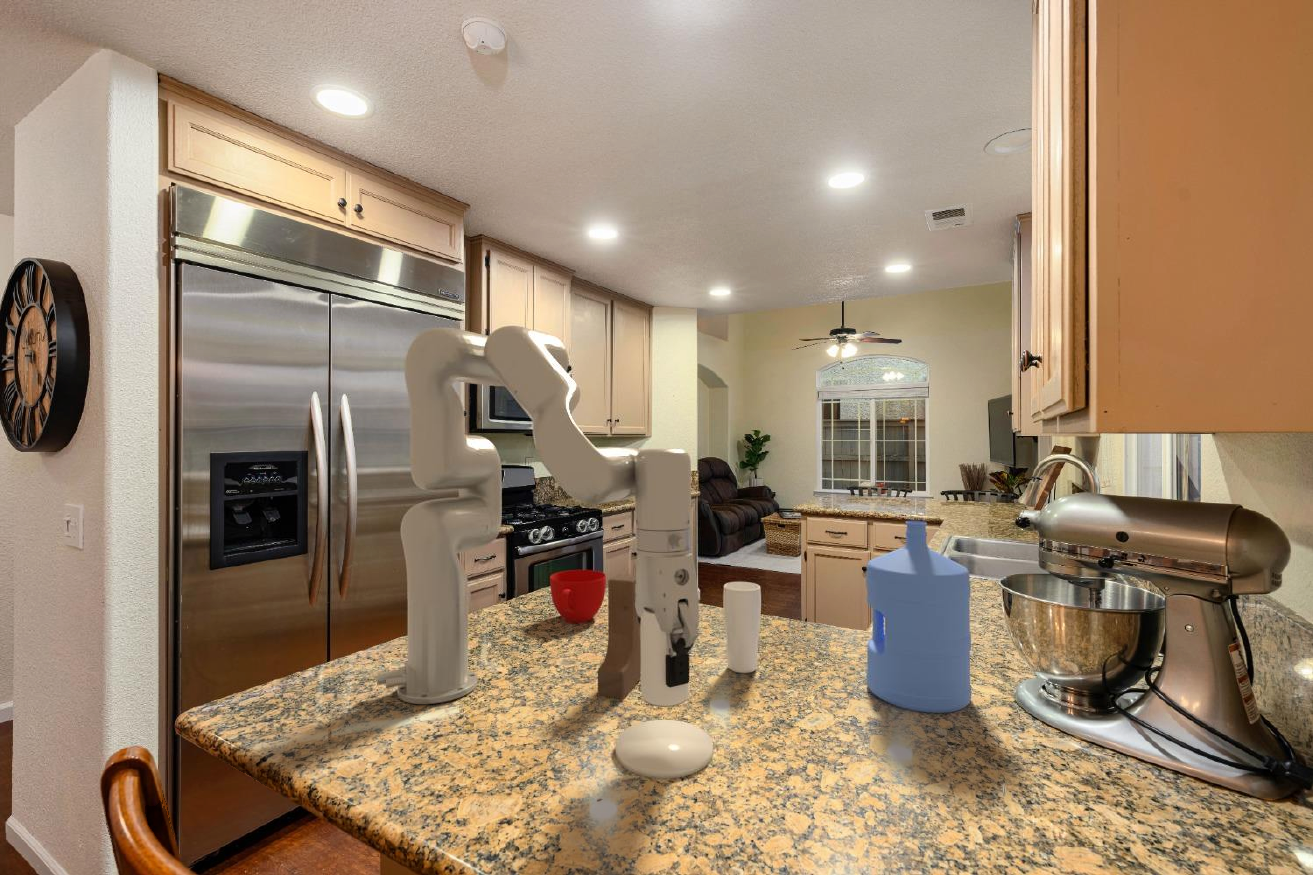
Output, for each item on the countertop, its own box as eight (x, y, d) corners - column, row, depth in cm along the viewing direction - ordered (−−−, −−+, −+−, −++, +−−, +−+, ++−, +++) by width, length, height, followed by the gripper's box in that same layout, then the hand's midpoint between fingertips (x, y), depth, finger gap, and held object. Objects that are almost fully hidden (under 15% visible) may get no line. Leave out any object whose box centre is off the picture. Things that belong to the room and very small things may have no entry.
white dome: (642, 789, 69) (642, 781, 69) (600, 740, 81) (600, 732, 81) (732, 761, 75) (732, 753, 75) (681, 719, 87) (681, 712, 87)
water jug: (983, 691, 96) (982, 521, 96) (953, 726, 85) (952, 532, 85) (888, 667, 107) (887, 513, 107) (850, 694, 95) (849, 522, 95)
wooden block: (622, 700, 93) (622, 587, 93) (596, 697, 94) (596, 585, 95) (641, 678, 102) (641, 575, 102) (617, 675, 103) (617, 573, 103)
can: (654, 712, 74) (654, 617, 74) (633, 693, 79) (632, 604, 79) (698, 701, 77) (697, 609, 77) (674, 683, 82) (673, 598, 82)
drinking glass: (719, 672, 104) (718, 588, 104) (729, 659, 111) (728, 580, 111) (756, 678, 102) (756, 592, 102) (764, 664, 108) (764, 583, 108)
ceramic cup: (535, 631, 127) (535, 585, 127) (560, 609, 144) (560, 568, 144) (593, 634, 125) (592, 587, 125) (612, 611, 142) (611, 570, 142)
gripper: (723, 548, 72) (724, 693, 72) (657, 530, 88) (658, 650, 88) (670, 554, 69) (671, 706, 69) (611, 534, 84) (612, 659, 84)
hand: (664, 673), depth 78 cm, fingers closed on can, 6 cm apart
